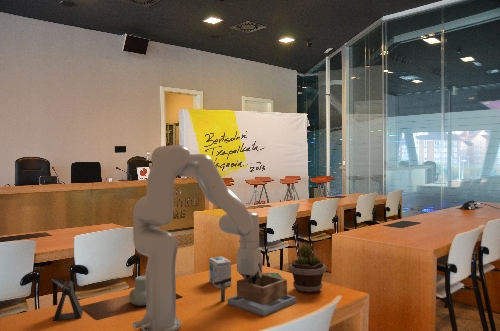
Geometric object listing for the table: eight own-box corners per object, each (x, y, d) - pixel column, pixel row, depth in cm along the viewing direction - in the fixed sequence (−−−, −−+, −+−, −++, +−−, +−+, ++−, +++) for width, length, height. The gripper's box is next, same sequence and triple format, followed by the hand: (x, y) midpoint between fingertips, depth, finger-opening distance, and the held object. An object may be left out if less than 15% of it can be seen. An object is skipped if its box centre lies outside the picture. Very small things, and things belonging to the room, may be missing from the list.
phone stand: (83, 312, 146) (82, 279, 146) (81, 318, 141) (80, 284, 141) (55, 315, 144) (55, 281, 144) (52, 321, 138) (51, 286, 138)
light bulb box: (209, 281, 182) (208, 257, 181) (223, 279, 184) (222, 255, 184) (217, 288, 172) (216, 263, 172) (232, 286, 175) (231, 261, 175)
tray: (263, 316, 140) (263, 310, 140) (227, 304, 153) (227, 298, 153) (296, 302, 153) (296, 297, 153) (260, 292, 166) (260, 287, 166)
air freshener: (128, 301, 157) (127, 275, 157) (149, 297, 162) (148, 272, 162) (136, 310, 148) (136, 282, 148) (158, 305, 152) (158, 279, 152)
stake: (216, 304, 153) (216, 282, 153) (213, 303, 154) (213, 281, 154) (231, 298, 159) (231, 277, 159) (229, 297, 160) (228, 277, 160)
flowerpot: (329, 295, 160) (329, 245, 160) (291, 296, 160) (290, 246, 160) (323, 284, 175) (322, 238, 175) (287, 285, 175) (287, 238, 175)
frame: (263, 305, 144) (263, 288, 144) (237, 296, 153) (236, 280, 153) (287, 295, 153) (286, 279, 153) (260, 288, 163) (260, 273, 163)
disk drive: (249, 287, 175) (283, 284, 177) (249, 280, 175) (283, 278, 177) (246, 280, 185) (278, 277, 187) (246, 274, 185) (278, 271, 187)
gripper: (228, 243, 160) (229, 289, 160) (257, 248, 149) (258, 298, 149) (242, 240, 165) (242, 285, 165) (270, 245, 154) (271, 293, 155)
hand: (250, 291), depth 157 cm, fingers closed on frame, 1 cm apart
